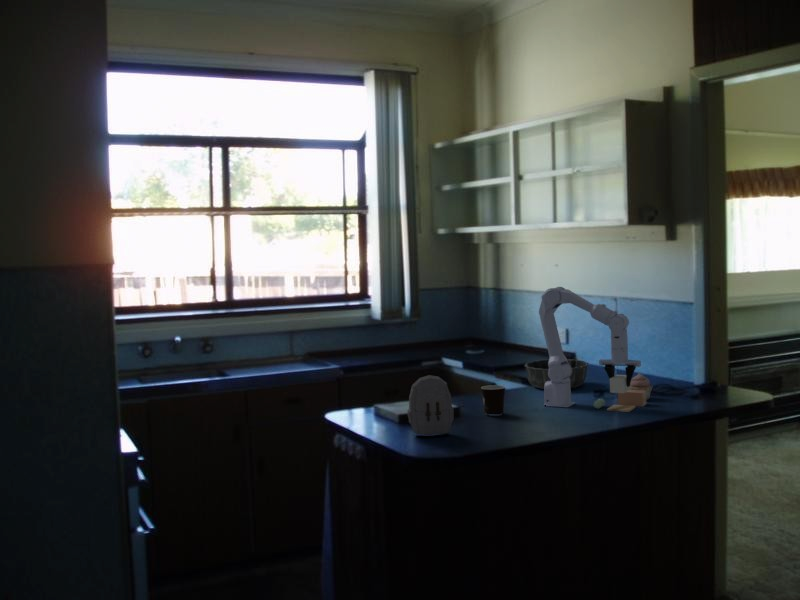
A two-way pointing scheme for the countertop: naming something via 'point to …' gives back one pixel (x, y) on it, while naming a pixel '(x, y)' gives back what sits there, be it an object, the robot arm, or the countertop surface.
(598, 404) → the marble
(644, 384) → the cupcake
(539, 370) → the bundt pan
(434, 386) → the grey rounded bag
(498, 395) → the coffee mug
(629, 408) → the coaster
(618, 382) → the block
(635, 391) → the tan cardboard brick
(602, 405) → the marble
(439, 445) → the countertop surface
